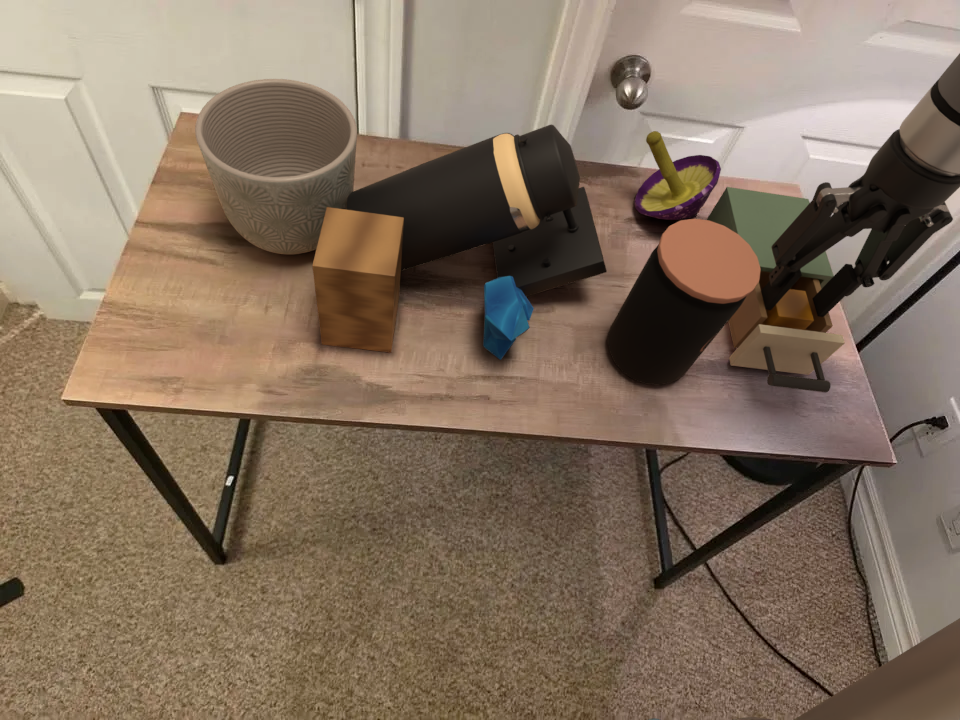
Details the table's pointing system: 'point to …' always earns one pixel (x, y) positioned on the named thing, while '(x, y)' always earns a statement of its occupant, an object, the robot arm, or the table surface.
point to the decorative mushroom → (676, 183)
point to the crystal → (504, 315)
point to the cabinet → (765, 225)
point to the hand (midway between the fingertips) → (792, 304)
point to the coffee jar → (682, 300)
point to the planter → (278, 159)
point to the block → (791, 311)
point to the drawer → (783, 340)
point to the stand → (358, 278)
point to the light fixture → (496, 209)
